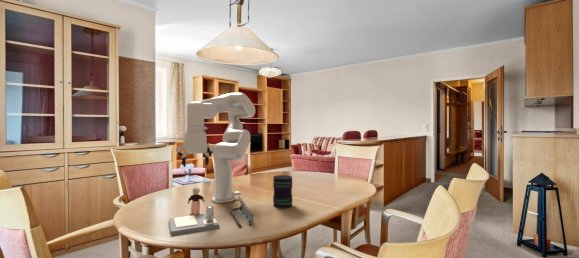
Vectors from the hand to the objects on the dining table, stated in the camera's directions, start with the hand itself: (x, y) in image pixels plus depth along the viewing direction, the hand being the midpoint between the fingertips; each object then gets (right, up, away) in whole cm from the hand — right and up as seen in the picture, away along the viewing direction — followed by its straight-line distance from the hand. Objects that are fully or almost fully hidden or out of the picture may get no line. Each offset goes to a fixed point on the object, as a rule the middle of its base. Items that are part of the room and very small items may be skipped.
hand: (195, 165), depth 130 cm
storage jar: (+40, -23, +14) cm, 48 cm away
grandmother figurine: (0, -23, 0) cm, 23 cm away
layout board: (+4, -23, -14) cm, 27 cm away
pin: (+11, -21, -15) cm, 28 cm away
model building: (+22, -23, -4) cm, 32 cm away
